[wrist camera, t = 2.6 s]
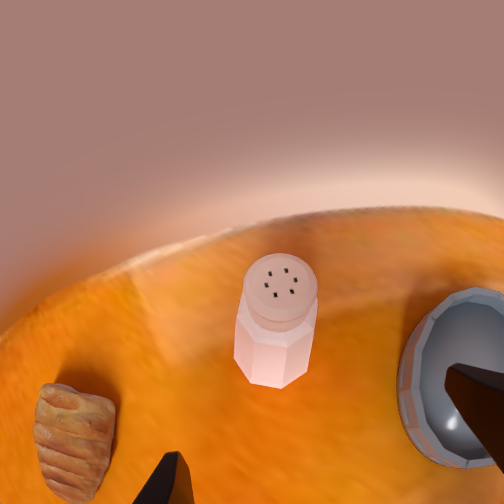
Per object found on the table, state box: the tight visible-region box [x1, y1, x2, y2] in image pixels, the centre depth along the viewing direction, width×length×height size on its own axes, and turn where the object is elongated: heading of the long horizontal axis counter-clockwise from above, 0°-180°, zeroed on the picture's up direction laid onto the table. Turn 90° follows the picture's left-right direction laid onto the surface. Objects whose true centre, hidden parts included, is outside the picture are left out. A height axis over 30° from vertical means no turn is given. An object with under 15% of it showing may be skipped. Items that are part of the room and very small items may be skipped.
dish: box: [396, 287, 504, 469], centre depth 17 cm, size 14×14×2 cm
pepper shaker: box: [234, 253, 318, 389], centre depth 16 cm, size 5×5×11 cm
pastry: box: [33, 383, 116, 504], centre depth 16 cm, size 9×7×4 cm
